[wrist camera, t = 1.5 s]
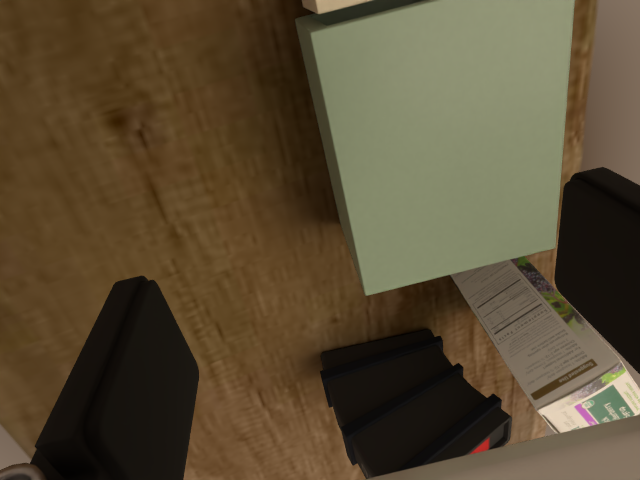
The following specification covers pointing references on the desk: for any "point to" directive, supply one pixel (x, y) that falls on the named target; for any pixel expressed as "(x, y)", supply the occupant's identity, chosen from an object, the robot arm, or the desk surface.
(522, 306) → the syrup box
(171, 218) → the desk surface
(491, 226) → the cabinet
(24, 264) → the desk surface
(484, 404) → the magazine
